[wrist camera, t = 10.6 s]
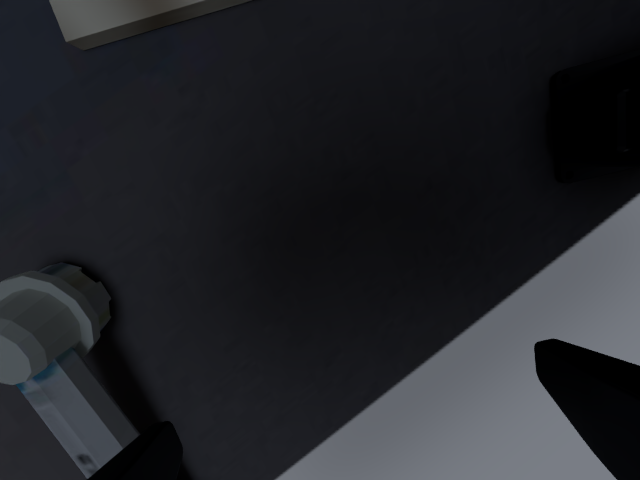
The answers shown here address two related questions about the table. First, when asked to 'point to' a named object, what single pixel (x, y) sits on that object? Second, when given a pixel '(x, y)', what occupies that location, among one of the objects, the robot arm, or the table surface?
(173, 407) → the table surface
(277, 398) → the table surface
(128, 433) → the grey elongated piece
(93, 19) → the socket board
